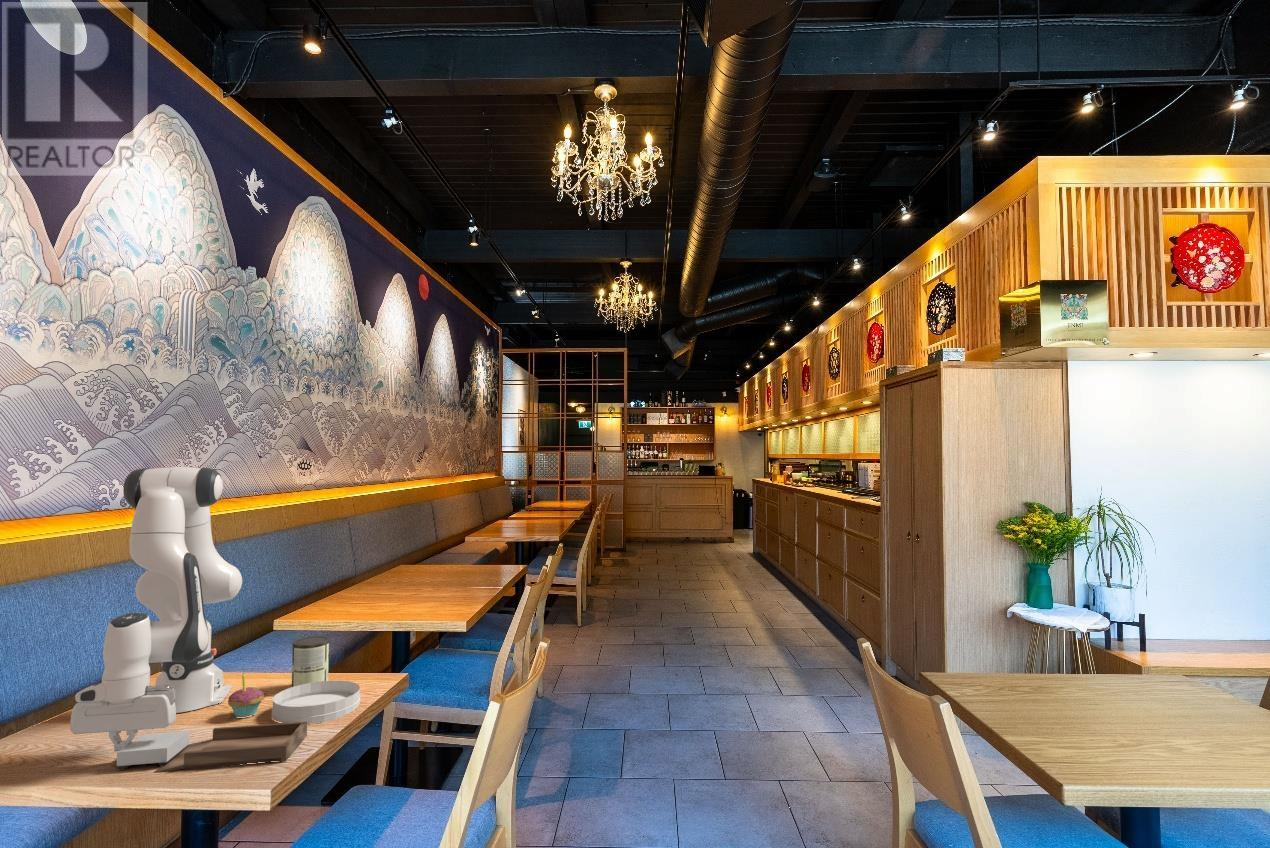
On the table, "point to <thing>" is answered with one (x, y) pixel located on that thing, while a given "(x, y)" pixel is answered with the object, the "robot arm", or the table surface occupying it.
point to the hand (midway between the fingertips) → (123, 749)
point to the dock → (241, 746)
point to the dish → (316, 702)
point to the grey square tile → (153, 749)
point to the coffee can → (310, 660)
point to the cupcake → (245, 700)
